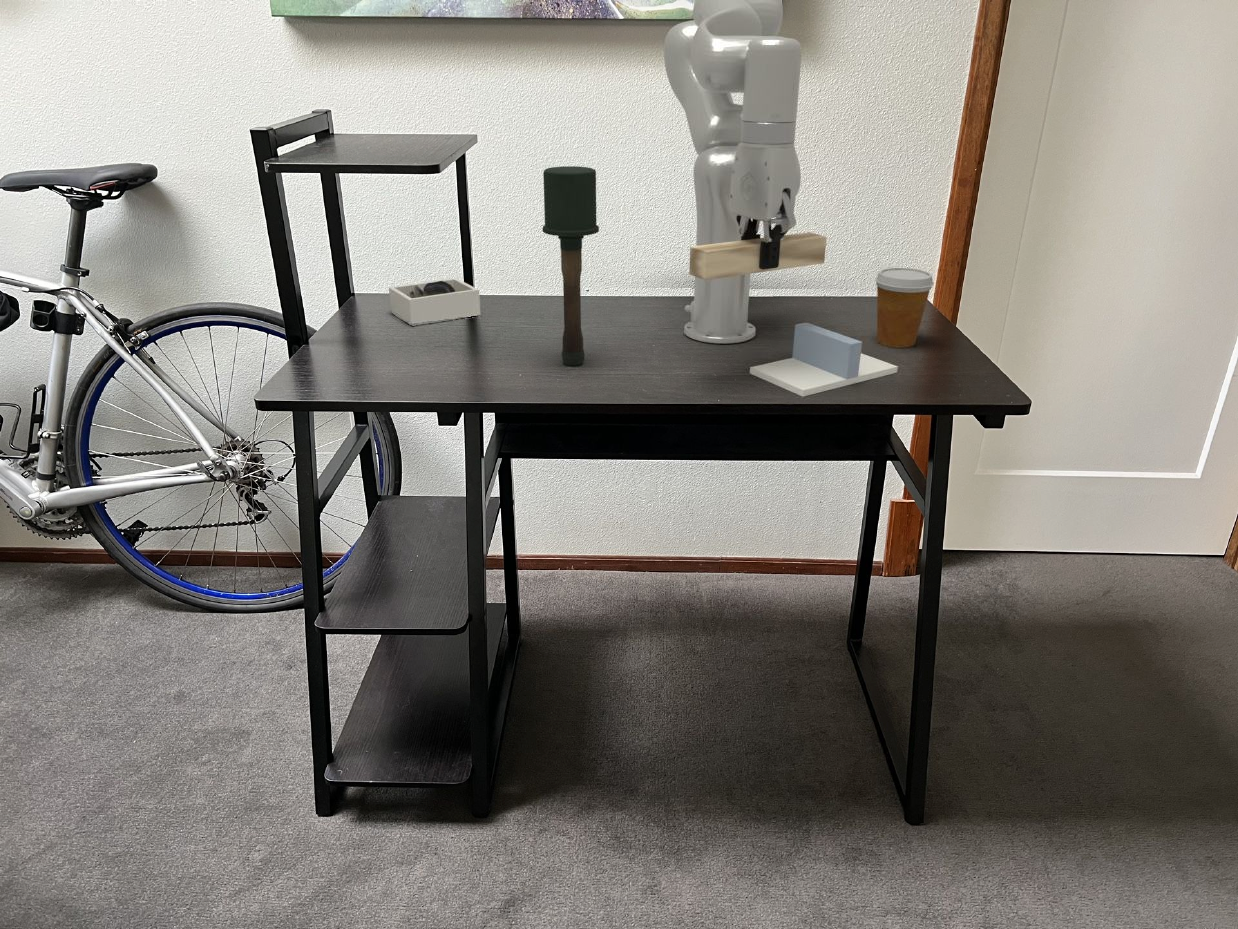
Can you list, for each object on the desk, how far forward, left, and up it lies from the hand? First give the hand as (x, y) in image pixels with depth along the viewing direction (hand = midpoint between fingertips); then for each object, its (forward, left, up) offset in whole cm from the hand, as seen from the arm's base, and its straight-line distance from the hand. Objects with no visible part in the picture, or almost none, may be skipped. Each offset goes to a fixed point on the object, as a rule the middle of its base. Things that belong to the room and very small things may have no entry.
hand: (758, 263), depth 135 cm
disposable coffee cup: (+1, +32, -17) cm, 36 cm away
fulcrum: (+6, +10, -17) cm, 21 cm away
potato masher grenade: (-19, -21, -17) cm, 34 cm away
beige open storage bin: (-57, -29, -17) cm, 66 cm away
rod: (0, 0, -1) cm, 1 cm away
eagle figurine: (-57, -29, -17) cm, 66 cm away
